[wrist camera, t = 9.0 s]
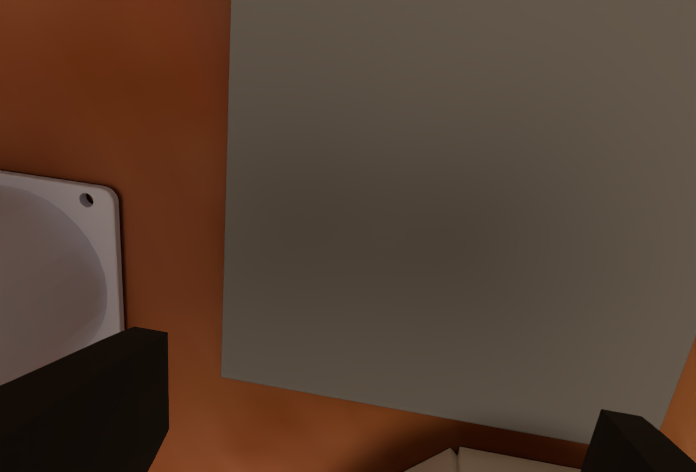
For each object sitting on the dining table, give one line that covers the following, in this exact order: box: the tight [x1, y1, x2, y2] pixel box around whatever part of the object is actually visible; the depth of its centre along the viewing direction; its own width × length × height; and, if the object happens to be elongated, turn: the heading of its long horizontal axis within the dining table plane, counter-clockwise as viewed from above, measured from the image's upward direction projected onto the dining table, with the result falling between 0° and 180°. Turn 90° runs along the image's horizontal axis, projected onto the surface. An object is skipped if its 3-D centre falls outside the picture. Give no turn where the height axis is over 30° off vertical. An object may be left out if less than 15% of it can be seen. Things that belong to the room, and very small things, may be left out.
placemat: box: [221, 0, 696, 444], centre depth 17 cm, size 16×16×1 cm
